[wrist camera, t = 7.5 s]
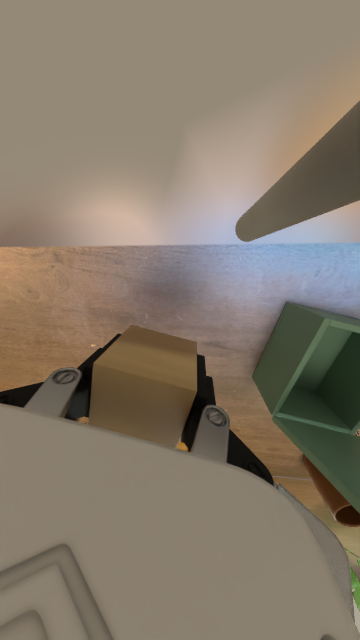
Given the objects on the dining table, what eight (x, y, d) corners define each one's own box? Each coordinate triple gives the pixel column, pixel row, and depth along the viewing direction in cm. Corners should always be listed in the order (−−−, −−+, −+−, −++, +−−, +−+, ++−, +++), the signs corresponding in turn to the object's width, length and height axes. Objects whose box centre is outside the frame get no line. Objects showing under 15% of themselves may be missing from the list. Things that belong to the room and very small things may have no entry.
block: (131, 324, 11) (92, 362, 7) (197, 341, 11) (197, 390, 7) (123, 378, 13) (86, 436, 9) (180, 393, 13) (173, 459, 9)
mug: (364, 453, 37) (417, 513, 28) (347, 475, 40) (390, 536, 31) (310, 442, 38) (346, 498, 29) (296, 464, 40) (325, 522, 31)
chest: (286, 301, 28) (325, 317, 20) (360, 319, 28) (429, 343, 20) (252, 376, 33) (271, 414, 25) (314, 392, 33) (353, 435, 25)
